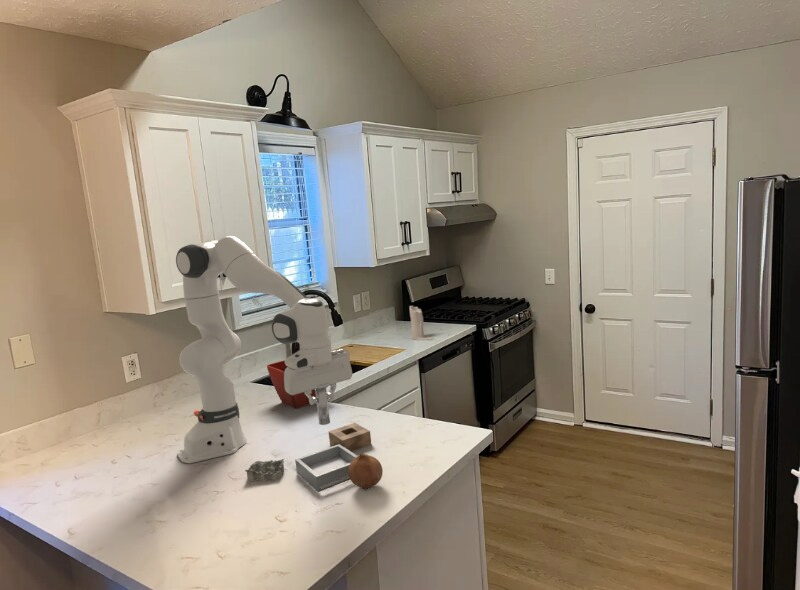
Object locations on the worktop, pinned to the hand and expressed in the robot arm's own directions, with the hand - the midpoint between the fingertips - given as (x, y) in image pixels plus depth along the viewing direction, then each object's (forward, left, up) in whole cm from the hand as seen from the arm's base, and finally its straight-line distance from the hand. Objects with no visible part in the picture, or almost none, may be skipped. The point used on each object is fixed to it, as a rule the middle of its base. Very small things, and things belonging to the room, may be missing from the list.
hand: (321, 401), depth 157 cm
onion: (+4, -15, -23) cm, 28 cm away
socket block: (+13, +11, -22) cm, 28 cm away
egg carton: (-15, +13, -23) cm, 30 cm away
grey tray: (0, 0, -22) cm, 23 cm away
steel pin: (0, 0, -7) cm, 7 cm away
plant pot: (+20, +68, -23) cm, 74 cm away
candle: (+119, +116, -23) cm, 168 cm away
